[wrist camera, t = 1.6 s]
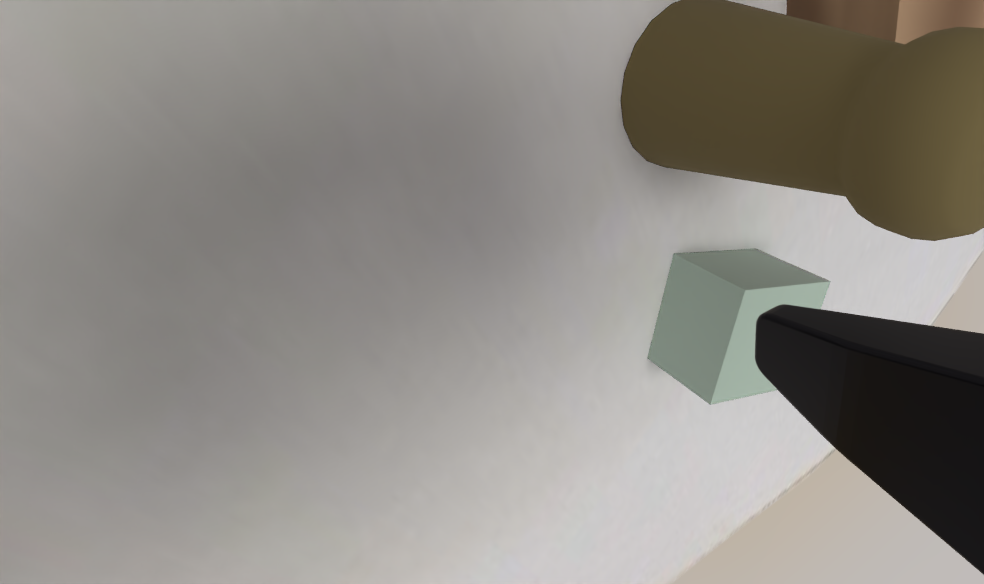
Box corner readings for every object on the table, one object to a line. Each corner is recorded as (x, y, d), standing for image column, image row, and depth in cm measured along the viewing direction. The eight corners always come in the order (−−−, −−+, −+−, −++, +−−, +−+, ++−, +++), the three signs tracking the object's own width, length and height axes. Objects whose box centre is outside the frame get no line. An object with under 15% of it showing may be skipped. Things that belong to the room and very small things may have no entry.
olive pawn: (768, 84, 25) (1108, 144, 17) (667, 198, 25) (955, 317, 17) (710, -46, 22) (1106, -57, 13) (592, 87, 22) (910, 164, 13)
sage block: (724, 344, 31) (792, 386, 28) (645, 356, 29) (710, 404, 26) (753, 247, 29) (830, 281, 26) (671, 252, 27) (745, 290, 24)
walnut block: (782, 104, 26) (886, 124, 23) (784, -27, 24) (902, -27, 20) (882, 57, 28) (993, 69, 24) (894, -70, 25) (1021, -77, 22)
